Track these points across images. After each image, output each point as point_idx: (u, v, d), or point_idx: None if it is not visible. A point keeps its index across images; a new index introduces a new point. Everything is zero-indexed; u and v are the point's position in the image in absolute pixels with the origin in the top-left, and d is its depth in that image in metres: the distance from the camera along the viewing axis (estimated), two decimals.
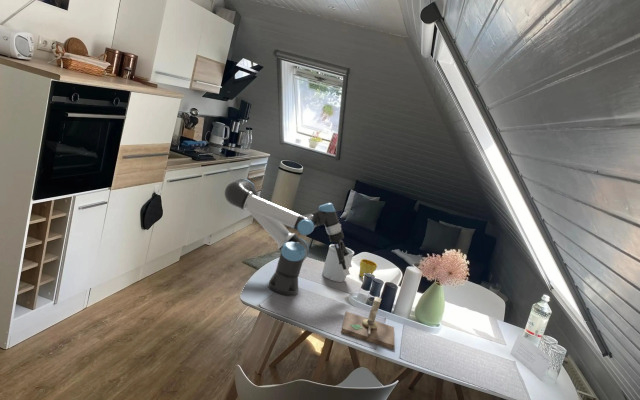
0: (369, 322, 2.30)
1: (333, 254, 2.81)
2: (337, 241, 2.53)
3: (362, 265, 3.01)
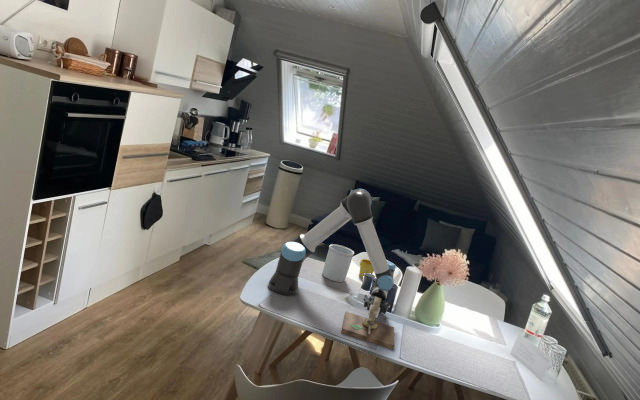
0: (369, 322, 2.30)
1: (333, 254, 2.81)
2: None
3: (362, 265, 3.01)
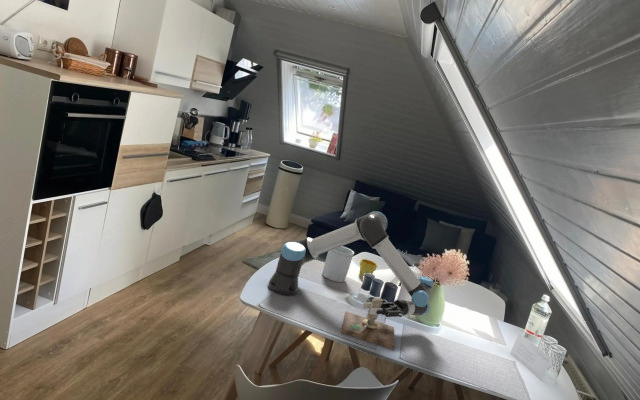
0: (368, 321, 2.30)
1: (333, 254, 2.81)
2: None
3: (362, 265, 3.01)
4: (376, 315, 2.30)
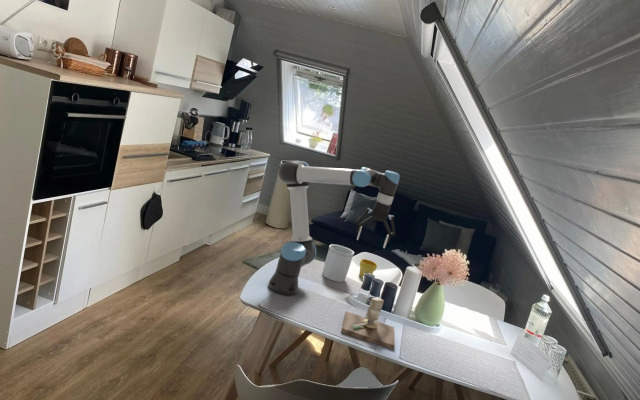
0: (367, 321, 2.31)
1: (333, 254, 2.81)
2: None
3: (362, 265, 3.01)
4: (376, 315, 2.30)
